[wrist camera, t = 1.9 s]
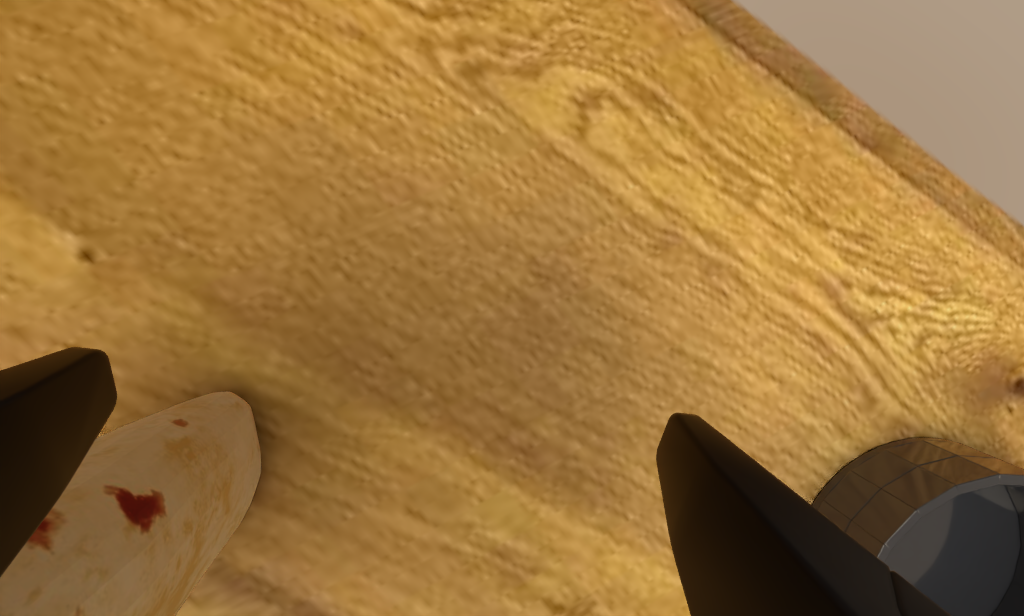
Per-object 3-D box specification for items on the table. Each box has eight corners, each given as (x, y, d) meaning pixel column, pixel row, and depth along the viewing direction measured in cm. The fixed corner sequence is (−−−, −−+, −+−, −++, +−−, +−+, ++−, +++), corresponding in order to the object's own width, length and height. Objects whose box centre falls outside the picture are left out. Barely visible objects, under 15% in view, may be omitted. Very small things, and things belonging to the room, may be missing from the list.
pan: (947, 690, 30) (1032, 769, 25) (752, 619, 28) (806, 691, 24) (1059, 487, 29) (1168, 533, 24) (863, 400, 27) (942, 432, 23)
